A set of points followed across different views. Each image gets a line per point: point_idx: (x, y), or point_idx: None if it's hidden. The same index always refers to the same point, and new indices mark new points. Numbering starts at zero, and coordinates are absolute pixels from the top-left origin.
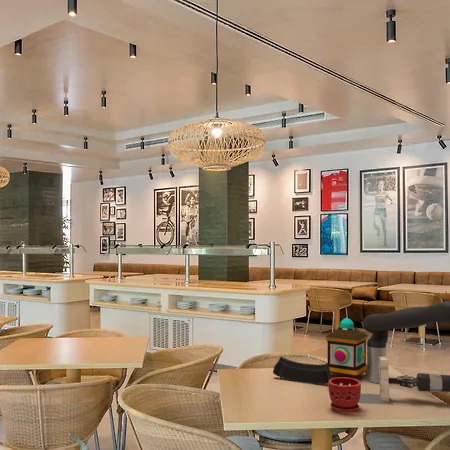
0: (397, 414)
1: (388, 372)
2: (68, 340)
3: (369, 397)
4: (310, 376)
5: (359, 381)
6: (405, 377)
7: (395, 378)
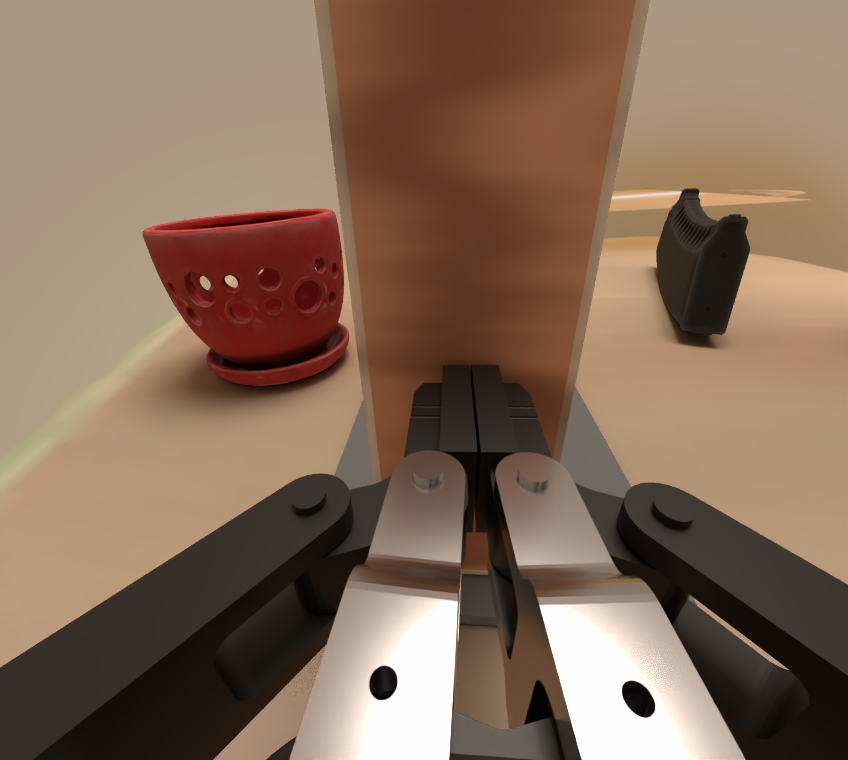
0: (29, 592)
1: (352, 236)
2: (678, 193)
3: None
4: (675, 276)
5: (206, 228)
6: (560, 712)
7: (471, 434)
